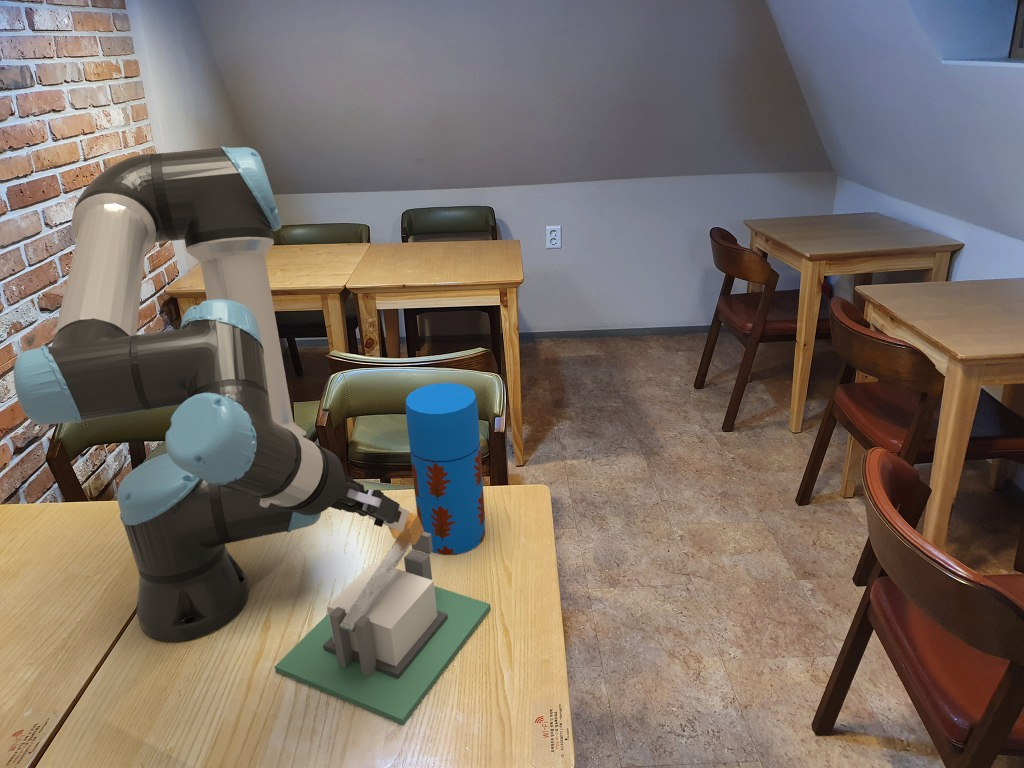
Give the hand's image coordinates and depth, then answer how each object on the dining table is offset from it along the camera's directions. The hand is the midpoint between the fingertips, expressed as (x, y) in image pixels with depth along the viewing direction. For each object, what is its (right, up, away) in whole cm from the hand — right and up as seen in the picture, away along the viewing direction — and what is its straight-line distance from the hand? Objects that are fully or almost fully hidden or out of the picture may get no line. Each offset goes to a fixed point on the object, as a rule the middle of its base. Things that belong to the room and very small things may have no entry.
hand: (401, 519), depth 102 cm
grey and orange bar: (-2, -7, -1) cm, 8 cm away
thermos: (+5, -7, +24) cm, 25 cm away
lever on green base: (-2, -17, +3) cm, 17 cm away
